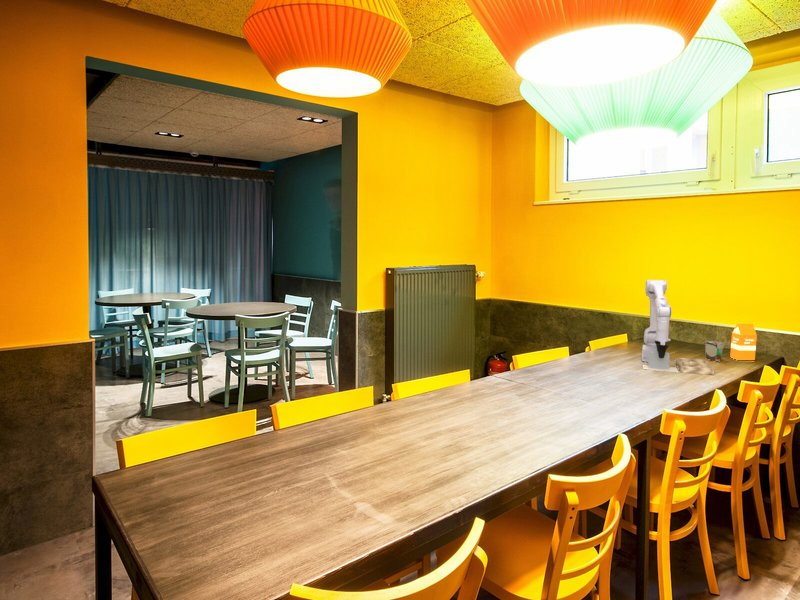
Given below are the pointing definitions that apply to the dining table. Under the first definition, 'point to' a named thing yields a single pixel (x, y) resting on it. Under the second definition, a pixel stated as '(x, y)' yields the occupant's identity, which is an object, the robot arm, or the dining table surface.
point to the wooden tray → (704, 369)
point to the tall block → (658, 361)
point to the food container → (714, 350)
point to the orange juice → (743, 342)
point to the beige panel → (671, 369)
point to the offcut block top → (695, 364)
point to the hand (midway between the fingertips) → (660, 356)
